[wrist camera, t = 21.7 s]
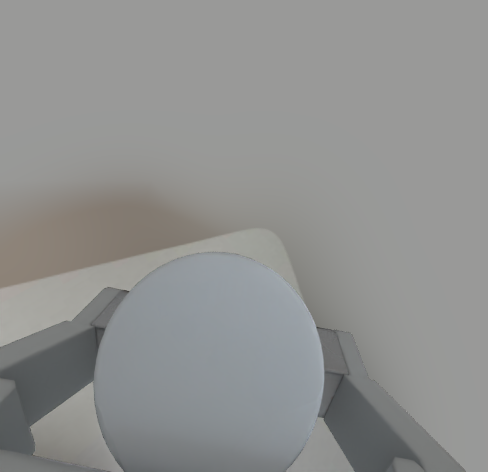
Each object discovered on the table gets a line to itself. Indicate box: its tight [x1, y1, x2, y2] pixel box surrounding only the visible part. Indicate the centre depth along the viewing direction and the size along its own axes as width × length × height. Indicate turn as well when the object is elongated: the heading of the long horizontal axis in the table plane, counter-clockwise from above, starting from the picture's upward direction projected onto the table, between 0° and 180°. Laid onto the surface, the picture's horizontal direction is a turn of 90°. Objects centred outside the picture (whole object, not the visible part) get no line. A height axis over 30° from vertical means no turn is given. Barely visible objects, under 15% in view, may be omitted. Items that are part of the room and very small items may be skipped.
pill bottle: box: [93, 252, 324, 472], centre depth 8 cm, size 5×5×8 cm
